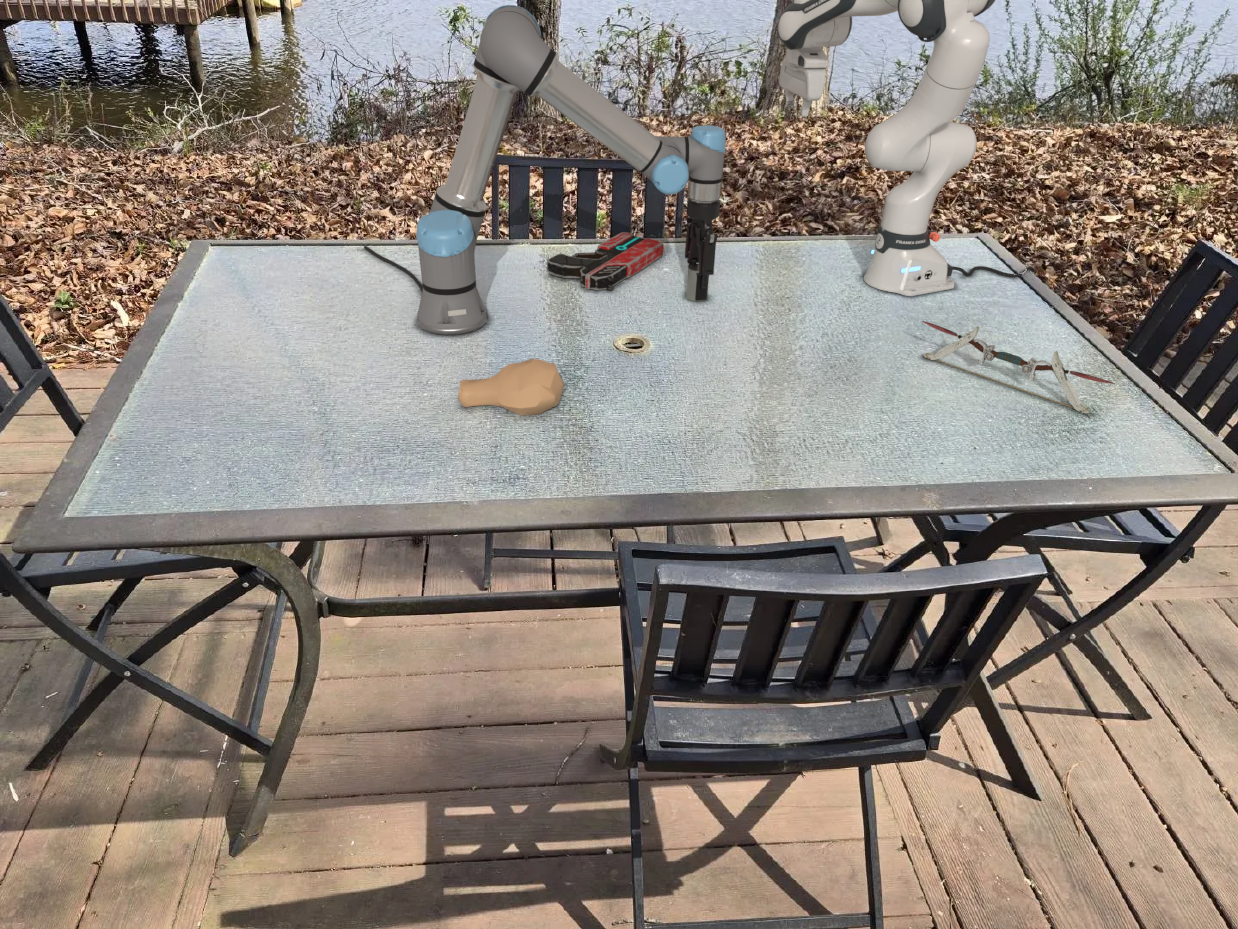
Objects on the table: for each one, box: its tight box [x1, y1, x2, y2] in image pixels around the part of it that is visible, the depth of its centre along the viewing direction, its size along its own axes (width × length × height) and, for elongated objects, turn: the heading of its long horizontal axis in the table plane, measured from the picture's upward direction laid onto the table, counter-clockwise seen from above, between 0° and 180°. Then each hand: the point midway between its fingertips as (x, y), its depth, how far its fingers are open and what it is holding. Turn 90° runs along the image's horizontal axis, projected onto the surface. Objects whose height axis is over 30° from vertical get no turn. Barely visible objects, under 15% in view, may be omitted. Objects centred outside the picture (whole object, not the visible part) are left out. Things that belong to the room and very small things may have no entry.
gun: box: [546, 231, 665, 292], centre depth 225 cm, size 4×31×19 cm
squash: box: [457, 358, 565, 416], centre depth 164 cm, size 11×20×9 cm, turn 90°
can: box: [685, 263, 710, 303], centre depth 210 cm, size 5×5×8 cm
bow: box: [921, 320, 1114, 414], centre depth 176 cm, size 39×2×10 cm, turn 47°
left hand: (696, 294), depth 212 cm, fingers closed on can, 5 cm apart
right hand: (796, 111), depth 233 cm, fingers open, 8 cm apart
